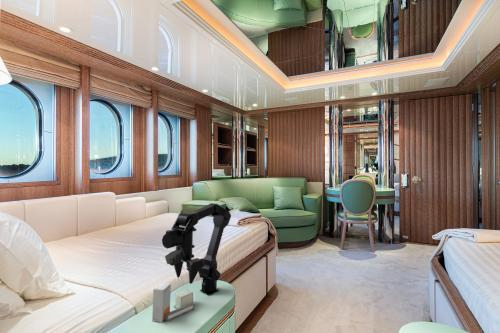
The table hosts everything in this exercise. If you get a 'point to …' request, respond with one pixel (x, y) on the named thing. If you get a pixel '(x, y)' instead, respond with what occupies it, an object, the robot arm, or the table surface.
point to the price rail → (179, 312)
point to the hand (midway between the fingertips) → (184, 280)
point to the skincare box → (161, 301)
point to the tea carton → (183, 298)
